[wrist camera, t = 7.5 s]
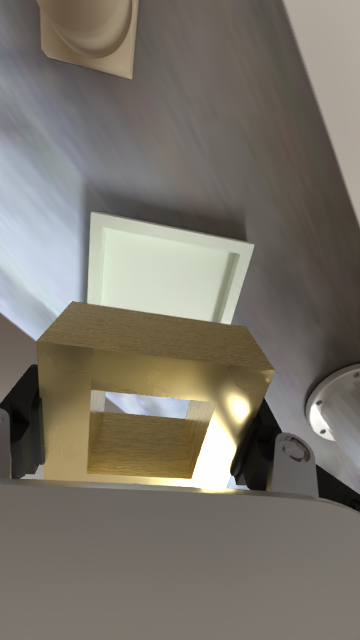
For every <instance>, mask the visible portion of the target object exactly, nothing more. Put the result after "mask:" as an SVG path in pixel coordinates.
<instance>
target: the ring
mask: <svg viewBox="0 0 360 640" xmlns="http://www.w3.org/2000/svg"><path fill="white" fill-rule="evenodd" d="M36 343H37V361H38V378H39V395H40V398H42V406H43V425H44V444H45V463H44V480H63V481H85V482H107V483H128V484H148V485H168V486H188V487H206V488H224V489H225V487H226V484H227V482H228V480H229V477H230V475H231V474H230V471H231V469H232V467H233V464H234V462H235V460H236V457H237V455H238V452H239V450H240V448H241V445H242V443H243V441H244V438H245V436H246V434H247V431H248V429H249V427H250V424H251V422H252V420H253V418H255V417H256V415H257V412H258V410H259V408H260V405H261V403H262V401H263V398H264V396H265V394H266V391H267V389H268V387H269V384H270V382H271V380H272V377H273V375H274V373H275V369H274V368H273V366H272V365H271V363H270V362H269V360H268V359H267V358H266V356H265V355H264V353H263V352H262V350H261V349H260V347H259V346H258V344H257V343H256V341H255V340H254V338H253V337H252V335H251V334H250V332H249V331H248V329H247V328H246V327H243V326H237V325H230V324H223V323H216V322H210V321H203V320H196V319H189V318H183V317H176V316H169V315H162V314H156V313H149V312H142V311H135V310H128V309H122V308H115V307H108V306H101V305H95V304H88V303H81V302H74V301H72V302H71V303H70V304H69V306H68V307H67V308H66V309H65V310H64V311H63V312H62V313H61V314H60V316H59V317H58V318H57V319H56V320H55V321H54V322H53V323H52V324H51V326H50V327H49V328H48V329H47V330H46V331H45V332H44V333H43V334H42V335H41V337H40V338H39V339H38V340H37V341H36ZM105 391H108V392H118V393H128V394H138V395H147V396H157V397H167V398H177V399H187V400H190V403H189V407H188V410H187V414H186V418H185V419H179V418H168V417H157V416H146V415H135V414H124V413H111V412H104V403H105Z"/></svg>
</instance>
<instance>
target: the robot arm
mask: <svg viewBox="0 0 360 640" xmlns="http://www.w3.org/2000/svg"><path fill="white" fill-rule="evenodd" d="M306 418H307V421H308V423H309V424H310V426H311V427H312V429H313V430H314V432H316V433H317V434H318V435H319V436H321V437H323V438H325V439H329V440H332V441H336V442H337V444H338V445H339V447H340V448H341V449H342V451H343V452H344V454H345V455H346V456H347V458H348V459H349V461H350V462H351V463H352V465H353V466H354V468H355V469H356V470H357V472H358V473H359V475H360V364H355V365H351V366H348V367H345V368H343V369H341V370H339V371H336V372H334V373H333V374H331V375H330V376H328V377H327V378H325V379H324V380H323V381H322V382H321V383H320V384H319V385H318V386H317V387H316V388H315V389H314V391H313V392H312V394H311V396H310V397H309V399H308V402H307V405H306ZM44 463H45V444H44V425H43V406H42V398H40V395H39V378H38V365H36V364H33V365H31V366H30V367H29V368H28V370H27V371H26V372H25V373H24V375H23V376H22V377H21V378H20V380H19V381H18V382H17V383H16V385H15V386H14V387H13V388H12V390H11V391H10V392H9V393H8V395H7V396H6V397H5V398H4V400H3V401H2V402H1V403H0V640H360V494H358V493H357V492H355V491H354V490H352V489H351V488H349V487H348V486H347V485H345V484H344V483H342V482H341V481H339V480H338V479H337V478H335V477H334V476H332V475H331V474H329V473H328V472H326V471H325V470H324V469H322V468H321V467H319V466H318V465H316V464H315V456H314V453H313V451H312V449H311V448H310V446H309V445H308V444H307V443H306V442H305V441H304V440H302V439H301V438H300V437H298V436H296V435H294V434H291V433H285V432H284V433H282V431H281V429H280V427H279V425H278V423H277V421H276V419H275V417H274V415H273V413H272V412H271V410H270V408H269V406H268V404H267V402H266V400H265V398H263V401H262V403H261V405H260V408H259V410H258V412H257V415H256V417H255V418H253V420H252V422H251V424H250V427H249V429H248V431H247V434H246V436H245V438H244V441H243V443H242V445H241V448H240V450H239V452H238V455H237V457H236V460H235V462H234V464H233V467H232V469H231V471H230V474H231V475H232V476H234V478H235V481H236V485H247V487H248V488H249V489H250V490H241V489H224V488H206V487H188V486H168V485H148V484H128V483H107V482H85V481H63V480H37V479H20V478H21V477H23V476H25V474H35V472H36V470H37V468H38V466H39V464H40V465H43V464H44Z"/></svg>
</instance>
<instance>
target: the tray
mask: <svg viewBox="0 0 360 640" xmlns="http://www.w3.org/2000/svg"><path fill="white" fill-rule="evenodd" d="M253 249H254V244H252V243H250V242H248V241H243V240H238V239H233V238H228V237H223V236H218V235H213V234H208V233H203V232H198V231H193V230H188V229H183V228H178V227H173V226H168V225H163V224H158V223H153V222H148V221H143V220H138V219H133V218H128V217H123V216H118V215H113V214H108V213H103V212H98V211H97V212H91V219H90V245H89V270H88V295H87V303H88V304H95V305H101V306H108V307H115V308H122V309H128V310H135V311H142V312H149V313H156V314H162V315H169V316H176V317H183V318H189V319H196V320H203V321H210V322H216V323H223V324H231V321H232V318H233V314H234V311H235V308H236V304H237V301H238V298H239V295H240V291H241V288H242V285H243V281H244V278H245V275H246V272H247V268H248V265H249V262H250V258H251V255H252V252H253Z"/></svg>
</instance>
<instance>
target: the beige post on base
mask: <svg viewBox="0 0 360 640" xmlns="http://www.w3.org/2000/svg"><path fill="white" fill-rule="evenodd" d="M36 1H37V3H38V5H39V6H40V25H41V49H42V51H43V52H44V53H45V54H46V56H47V57H49V58H53V59H57V60H60V61H64V62H68V63H72V64H75V65H79V66H83V67H87V68H90V69H94V70H98V71H102V72H105V73H109V74H113V75H117V76H120V77H124V78H128V79H131V80H132V76H133V64H134V53H135V41H136V29H137V17H138V6H139V0H36Z"/></svg>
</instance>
